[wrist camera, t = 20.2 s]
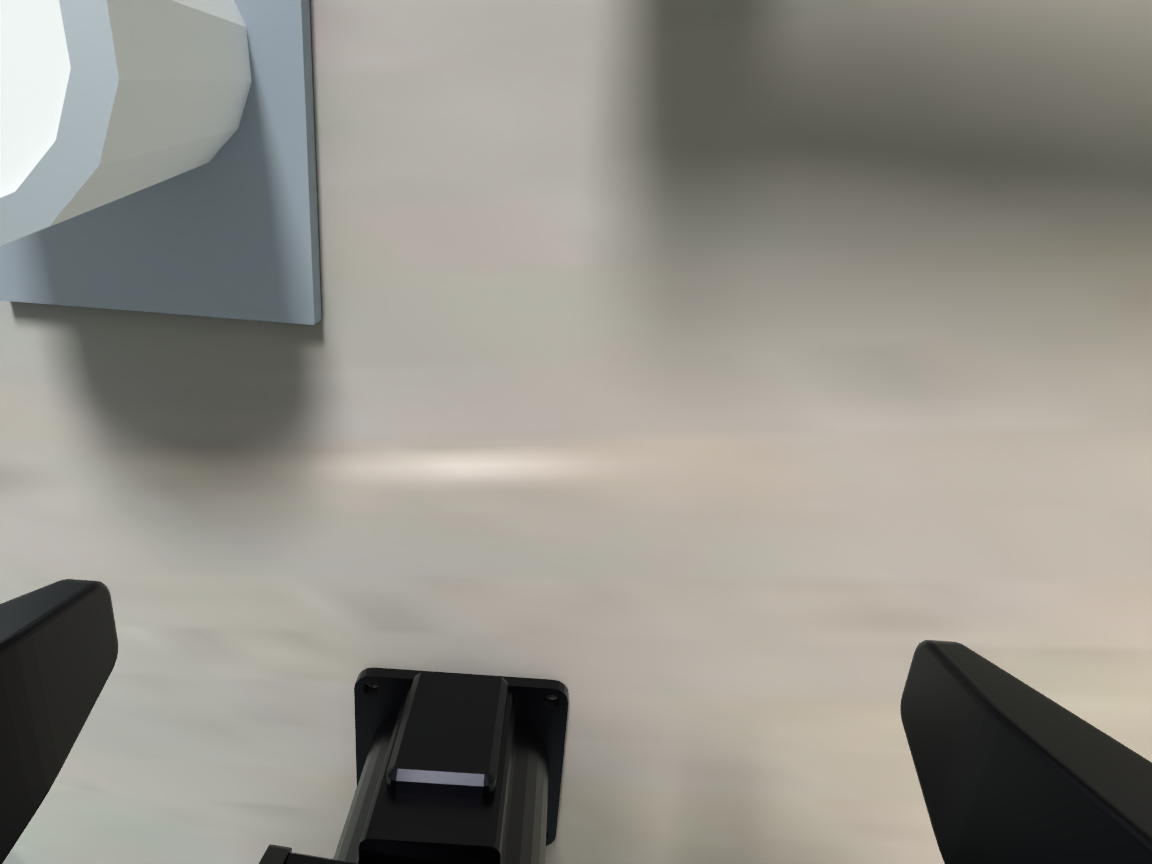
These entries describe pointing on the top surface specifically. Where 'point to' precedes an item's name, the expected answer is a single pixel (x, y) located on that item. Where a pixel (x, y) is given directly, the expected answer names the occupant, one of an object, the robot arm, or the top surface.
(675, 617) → the top surface
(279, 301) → the slate mat
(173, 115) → the white tapered cup
